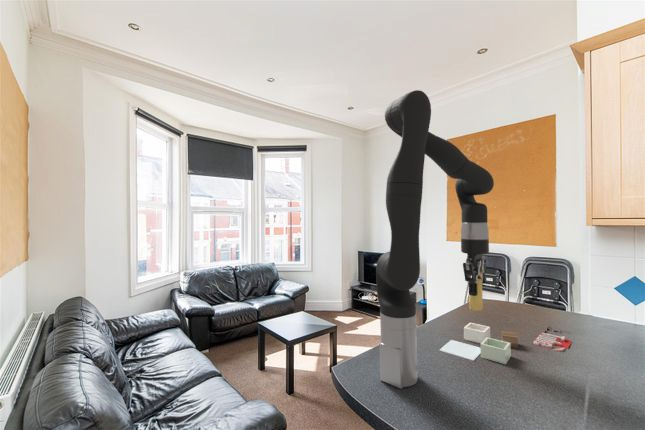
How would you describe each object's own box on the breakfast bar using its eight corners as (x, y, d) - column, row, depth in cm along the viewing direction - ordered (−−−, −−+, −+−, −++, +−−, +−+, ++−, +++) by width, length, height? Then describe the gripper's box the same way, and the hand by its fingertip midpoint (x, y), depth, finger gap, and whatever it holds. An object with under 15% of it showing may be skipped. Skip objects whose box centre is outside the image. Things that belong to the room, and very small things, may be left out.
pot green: (505, 366, 82) (505, 350, 82) (480, 359, 86) (480, 343, 86) (511, 358, 86) (510, 342, 86) (487, 351, 91) (486, 337, 91)
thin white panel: (473, 363, 84) (473, 360, 84) (439, 352, 91) (439, 349, 91) (484, 351, 91) (483, 348, 91) (451, 342, 98) (451, 339, 98)
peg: (480, 311, 86) (479, 281, 86) (467, 309, 89) (467, 279, 89) (484, 308, 89) (483, 279, 89) (471, 306, 91) (471, 277, 91)
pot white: (484, 346, 95) (484, 332, 95) (464, 340, 99) (463, 327, 99) (490, 340, 99) (490, 326, 99) (470, 335, 104) (469, 322, 104)
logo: (543, 321, 111) (577, 328, 104) (543, 326, 111) (578, 333, 104) (524, 341, 95) (563, 351, 87) (524, 346, 95) (564, 357, 87)
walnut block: (517, 350, 92) (517, 337, 92) (503, 348, 93) (502, 335, 93) (515, 345, 95) (515, 332, 95) (501, 343, 97) (500, 331, 97)
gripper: (480, 239, 81) (481, 301, 81) (495, 236, 91) (495, 291, 91) (452, 238, 87) (453, 296, 86) (469, 236, 97) (470, 288, 96)
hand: (475, 293), depth 89 cm, fingers closed on peg, 3 cm apart
